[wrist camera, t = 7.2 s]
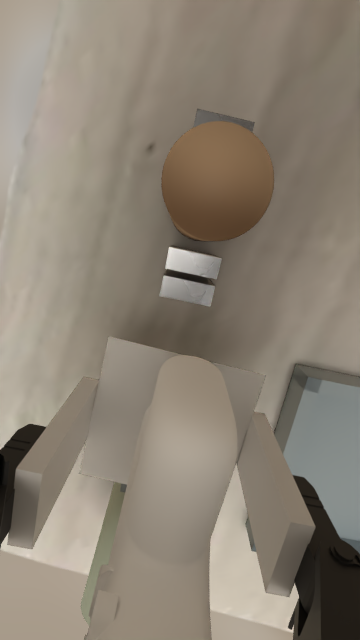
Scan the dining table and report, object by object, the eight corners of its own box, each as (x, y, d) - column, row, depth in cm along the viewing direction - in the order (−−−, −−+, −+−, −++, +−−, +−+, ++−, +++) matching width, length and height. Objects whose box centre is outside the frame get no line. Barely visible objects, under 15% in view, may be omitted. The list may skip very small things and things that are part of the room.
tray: (296, 363, 25) (308, 377, 23) (457, 397, 26) (485, 413, 24) (245, 524, 29) (251, 551, 26) (389, 550, 29) (408, 578, 27)
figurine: (256, 330, 18) (533, 684, 4) (210, 474, 21) (272, 1051, 6) (127, 298, 18) (-114, 545, 3) (94, 447, 20) (-140, 987, 6)
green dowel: (120, 452, 27) (87, 569, 18) (173, 462, 27) (169, 583, 18) (112, 497, 28) (75, 632, 19) (163, 506, 28) (154, 644, 19)
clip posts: (193, 137, 22) (197, 108, 17) (238, 148, 22) (254, 122, 17) (116, 517, 29) (103, 573, 24) (150, 523, 29) (144, 580, 24)
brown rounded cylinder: (176, 166, 22) (174, 108, 13) (241, 181, 22) (287, 136, 13) (163, 233, 23) (151, 228, 14) (225, 246, 23) (257, 251, 14)
